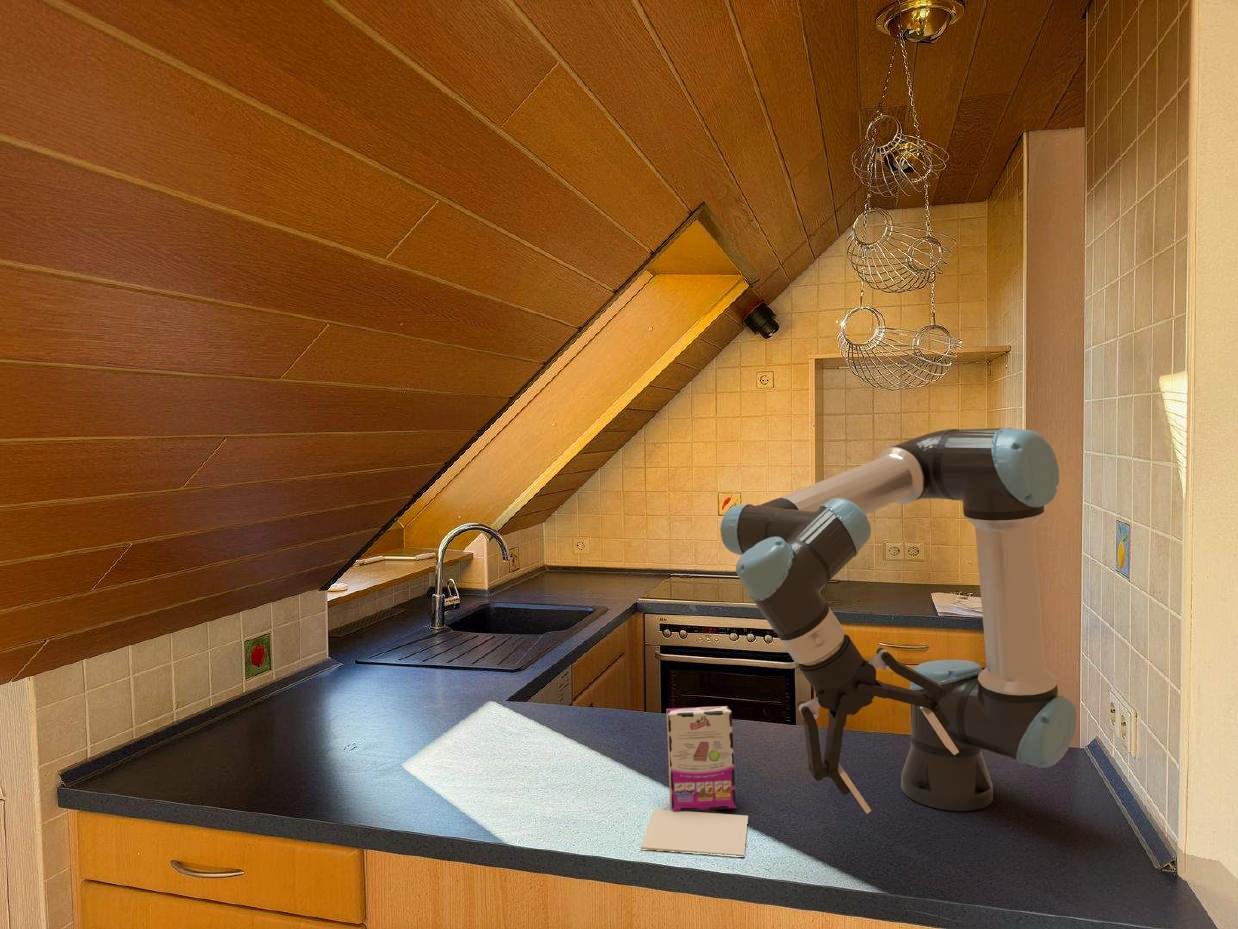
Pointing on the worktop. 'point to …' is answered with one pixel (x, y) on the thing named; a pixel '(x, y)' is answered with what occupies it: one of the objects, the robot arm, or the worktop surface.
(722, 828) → the mat
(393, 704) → the worktop surface
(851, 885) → the worktop surface
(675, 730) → the candy bar box
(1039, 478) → the robot arm
